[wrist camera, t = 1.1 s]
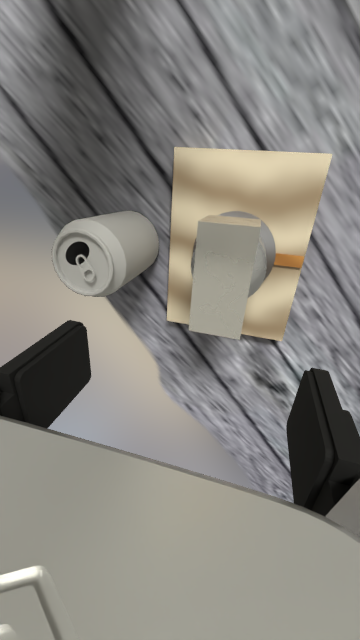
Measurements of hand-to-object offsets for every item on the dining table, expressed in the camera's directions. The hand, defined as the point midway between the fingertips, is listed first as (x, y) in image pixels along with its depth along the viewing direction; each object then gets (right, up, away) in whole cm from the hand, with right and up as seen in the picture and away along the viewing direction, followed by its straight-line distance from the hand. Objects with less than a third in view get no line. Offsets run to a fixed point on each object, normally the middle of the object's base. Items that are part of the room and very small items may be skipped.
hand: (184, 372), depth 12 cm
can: (-6, +12, +24) cm, 27 cm away
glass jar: (+6, +9, +19) cm, 22 cm away
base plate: (+6, +10, +21) cm, 24 cm away
